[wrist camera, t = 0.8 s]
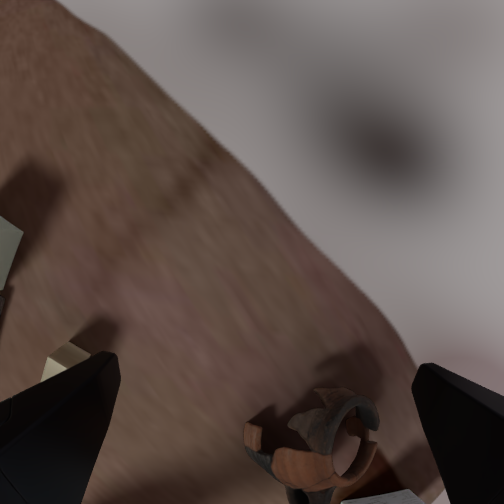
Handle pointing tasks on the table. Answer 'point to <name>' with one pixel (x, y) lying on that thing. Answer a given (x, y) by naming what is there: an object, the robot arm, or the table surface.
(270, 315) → the table surface
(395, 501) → the light bulb box
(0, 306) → the strip
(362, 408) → the brown hollow fragmented part
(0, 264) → the cabinet block
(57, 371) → the wall board
